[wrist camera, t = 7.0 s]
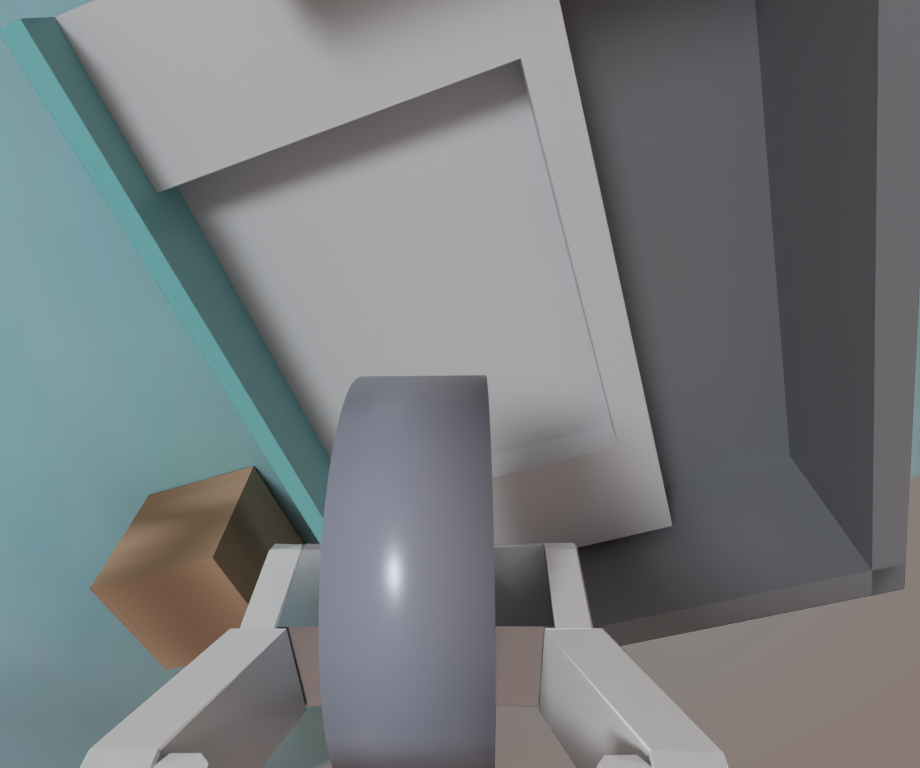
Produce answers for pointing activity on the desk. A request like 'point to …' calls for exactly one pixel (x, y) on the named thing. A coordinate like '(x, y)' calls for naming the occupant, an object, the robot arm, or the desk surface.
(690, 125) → the dock
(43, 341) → the desk surface
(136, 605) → the brown block
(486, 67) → the tray
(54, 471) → the desk surface
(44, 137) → the desk surface
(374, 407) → the grey round puck
